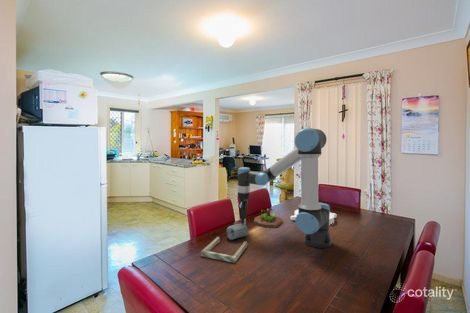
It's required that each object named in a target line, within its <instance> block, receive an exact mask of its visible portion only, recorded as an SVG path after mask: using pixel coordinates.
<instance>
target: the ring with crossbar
mask: <svg viewBox="0 0 470 313" xmlns="http://www.w3.org/2000/svg"><path fill="white" fill-rule="evenodd" d="M293 214H294V215H290V217H289V218H290V220H292V221H295V219H296V216H297V215H298V209H295V210H294V213H293ZM337 216H338V214H336V213H334V212H331V211H330V216H329V226H331V225H330V224H332V223H333V224H335V218H337ZM333 224H332V225H333Z"/></svg>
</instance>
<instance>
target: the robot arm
mask: <svg viewBox="0 0 470 313" xmlns="http://www.w3.org/2000/svg"><path fill="white" fill-rule="evenodd" d="M326 143H327V135H326V133H325V132H324V131H323V130H321V129H319V128H311V127H307V128H303V129H301V130H299V131H298V132H297V133H296V135H295V137H294V145H295V148H294V149H292V150H291V151H290V152H288V153H287V154H286V155H284V156H283V157H282V158H280V159H279V160H277V161H276V162H275V163H274V164H272V165H271V166H270V167H268V168H267V169H265V170H261V171H251V168H250V167H245V166H244V167H243V166H241V167H239V168H238V170H237V186H236V187H237V199H239V204H238V205H237V206H238V207H237V208H238V216H239V219H240V223H242V224H245V225H246V226H247V224H246V222H247V221H246V219H247V218H248V216H247V215H248V208H249V207H248V205H249V200H248V199H250V191H251V190H250V189H251V187H250V186H251V185H255V186H256V185H257V186H266V185H267V184H268V183H270V182H273V181H275V180H276V179H277V177H279V176H280V175H282V174H283V173H285V172H286V171H287V170H289V169H291V168H292V167H293V166H295V165H296V164H297V163H299V162H300V171H301V172H300V173H301V175H300V178H301V179H300V184H301V185H300V186H301V188H300V190H301V192H300V193H301V199H300V201H301V202H300V203H299V205H298V206H297V207H298V215H297V216H296V219H295V220H294V221H295V226H296V228H297V229H299V231H300V232H301V233H303V234H304V236H303V242H304V243H305V244H306V245H308V246H311V247H313V248H319V249H327V248H330V247H332V242H333V240H332V237H331V232H330V231H329V230H330V225H329V216H330V212H331V208H330V204H327V203H323V202H319V158H320V157H321V156H322V149H323V148H324V147H325V146H326V145H327V144H326Z"/></svg>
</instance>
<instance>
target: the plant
mask: <svg viewBox="0 0 470 313" xmlns="http://www.w3.org/2000/svg"><path fill="white" fill-rule="evenodd" d="M273 210H274V209H272V208H269V207H268V208H266V210H265V209H261V210H260V211H261V215H257V216H255V217H254V220H253V224H254V225H256V226H258V227H261V226H262V227H261V228H267V227H268V228H272V229H276V228H278V227H279V226H280V225H282V224H284V222H283V219H282V218H281V217H280V216H275V215H276V214H275V213H274V214H272V213H271V212H273ZM262 212H264V213H262Z"/></svg>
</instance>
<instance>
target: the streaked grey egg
mask: <svg viewBox="0 0 470 313" xmlns="http://www.w3.org/2000/svg"><path fill="white" fill-rule="evenodd" d="M248 234H249V228H248V226H247V224H246V225H245V224H242V223H241V222H240V223H236V224H233V225H230V226H228V227H227V228H226V235H227V238H228V239H229V240H230V241H234V240H236V239H240V238H244V237H247V236H248Z"/></svg>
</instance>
